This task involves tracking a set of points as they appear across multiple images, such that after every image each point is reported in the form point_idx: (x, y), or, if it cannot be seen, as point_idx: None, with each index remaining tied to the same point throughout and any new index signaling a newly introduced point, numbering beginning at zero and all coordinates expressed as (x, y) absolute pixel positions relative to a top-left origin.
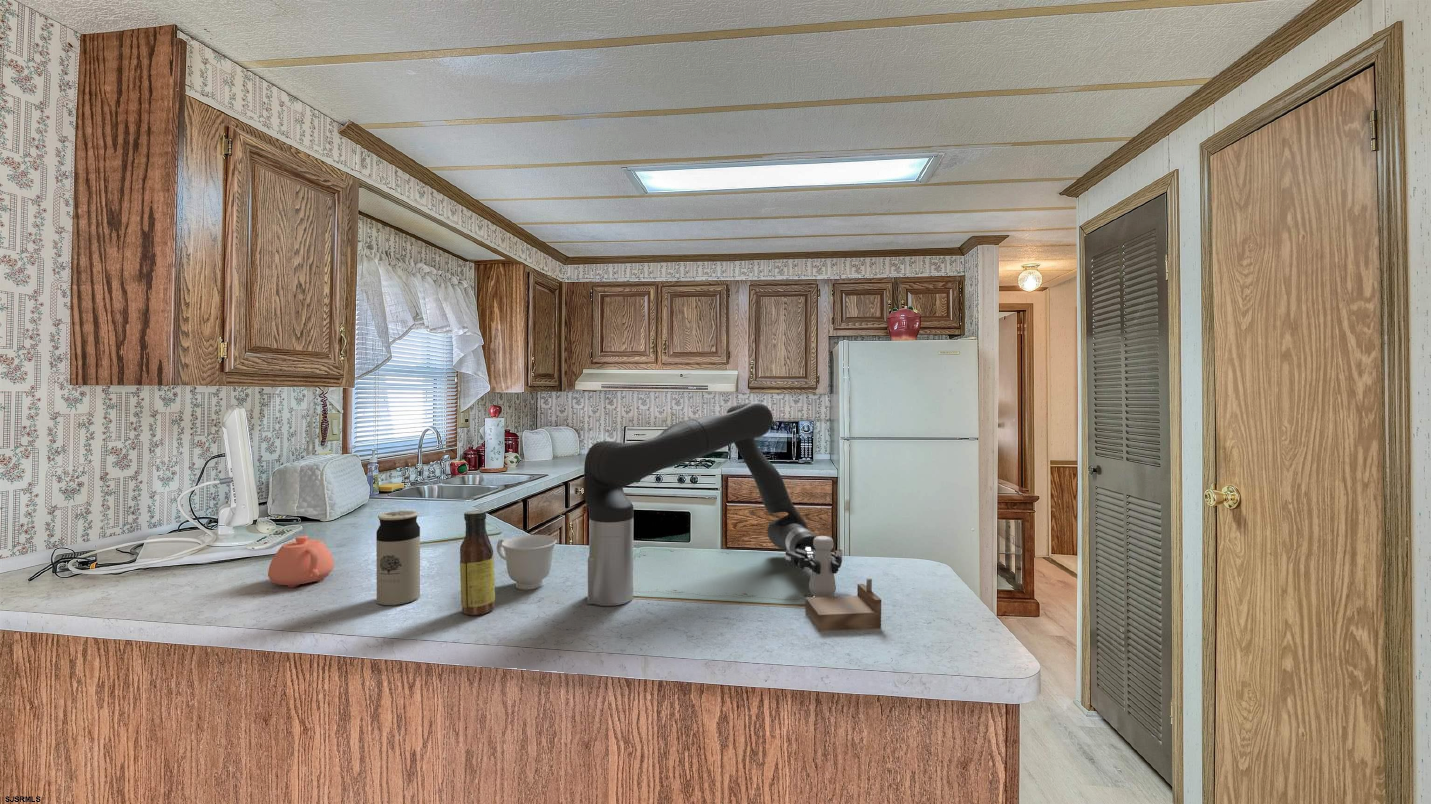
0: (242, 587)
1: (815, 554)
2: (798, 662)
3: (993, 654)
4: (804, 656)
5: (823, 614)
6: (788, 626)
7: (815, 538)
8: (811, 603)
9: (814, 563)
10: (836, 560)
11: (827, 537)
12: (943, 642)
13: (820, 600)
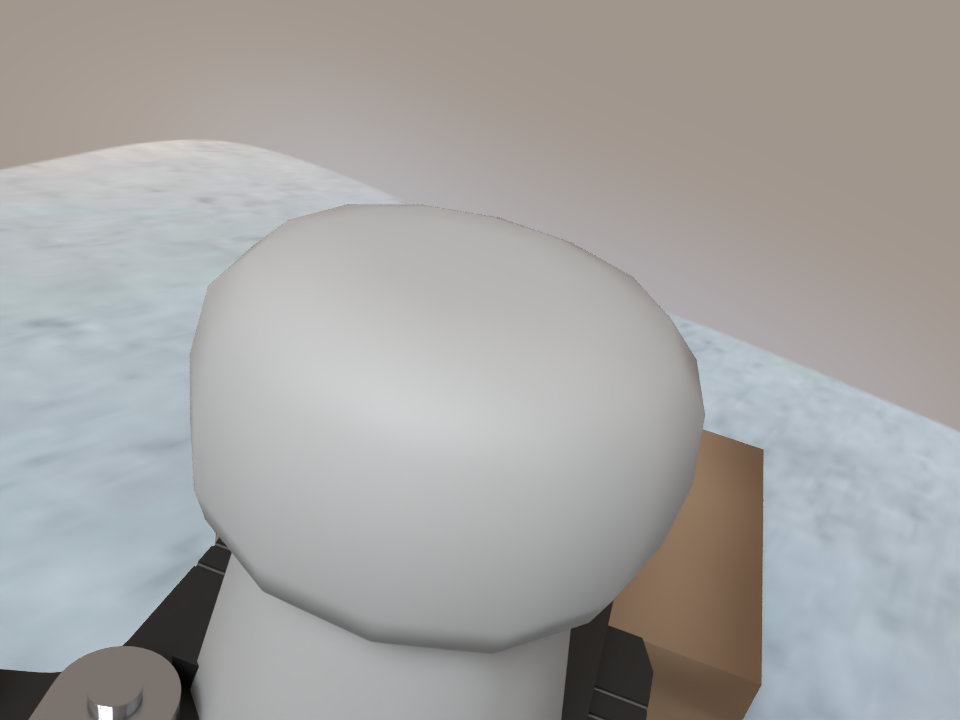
0: None
1: (562, 659)
2: (909, 418)
3: (176, 177)
4: (875, 430)
5: (734, 440)
6: (908, 654)
7: (680, 359)
8: (752, 573)
9: (594, 695)
10: (26, 684)
11: (398, 224)
12: (234, 253)
13: (650, 579)
